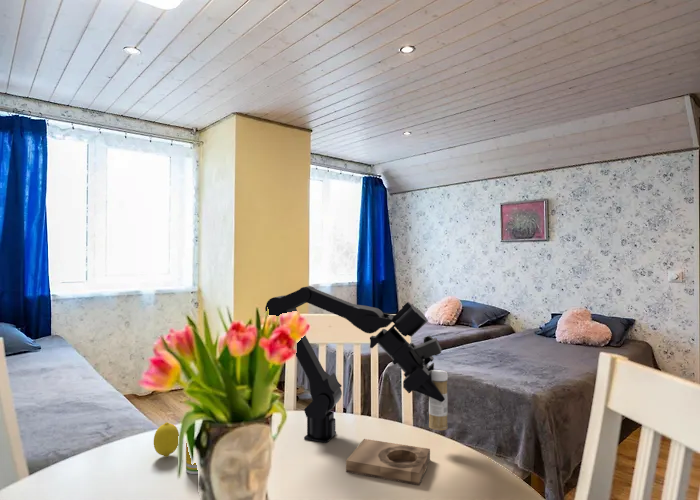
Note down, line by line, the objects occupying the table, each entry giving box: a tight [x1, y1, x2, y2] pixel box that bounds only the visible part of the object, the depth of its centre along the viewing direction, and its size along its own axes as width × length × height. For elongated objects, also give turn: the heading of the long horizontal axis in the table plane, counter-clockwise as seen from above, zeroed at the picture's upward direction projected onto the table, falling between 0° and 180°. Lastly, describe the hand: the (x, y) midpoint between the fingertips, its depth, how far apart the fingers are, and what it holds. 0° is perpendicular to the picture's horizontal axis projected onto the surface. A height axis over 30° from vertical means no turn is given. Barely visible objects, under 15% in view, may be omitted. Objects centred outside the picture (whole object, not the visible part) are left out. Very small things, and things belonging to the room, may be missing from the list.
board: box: [345, 438, 431, 486], centre depth 97 cm, size 16×12×2 cm
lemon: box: [153, 421, 180, 458], centre depth 102 cm, size 6×6×8 cm
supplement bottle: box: [185, 442, 199, 475], centre depth 96 cm, size 5×5×10 cm
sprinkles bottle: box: [428, 369, 449, 431], centre depth 105 cm, size 5×5×14 cm
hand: (443, 397), depth 105 cm, fingers closed on sprinkles bottle, 4 cm apart
